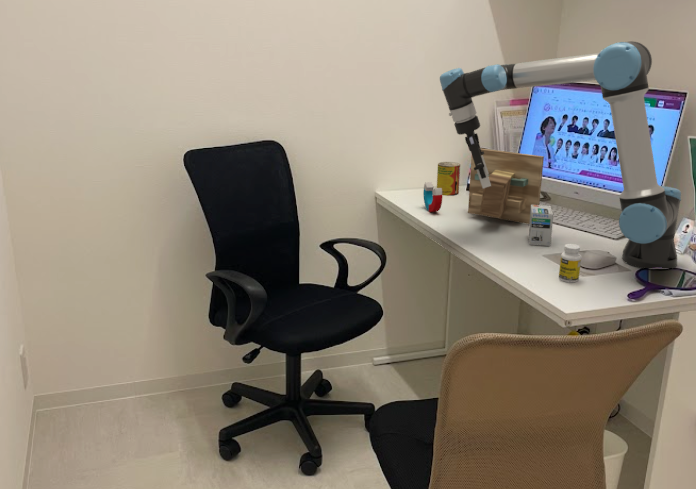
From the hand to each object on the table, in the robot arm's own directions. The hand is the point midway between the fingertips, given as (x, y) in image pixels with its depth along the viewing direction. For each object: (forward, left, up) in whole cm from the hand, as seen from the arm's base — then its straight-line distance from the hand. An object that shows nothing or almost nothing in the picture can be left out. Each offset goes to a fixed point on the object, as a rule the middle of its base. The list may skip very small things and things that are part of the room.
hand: (485, 180), depth 225 cm
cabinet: (+15, -4, -14) cm, 21 cm away
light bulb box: (0, -18, -19) cm, 27 cm away
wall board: (+23, -6, -19) cm, 31 cm away
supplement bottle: (-34, -24, -19) cm, 46 cm away
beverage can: (+58, +15, -19) cm, 62 cm away
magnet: (+29, +19, -19) cm, 39 cm away
